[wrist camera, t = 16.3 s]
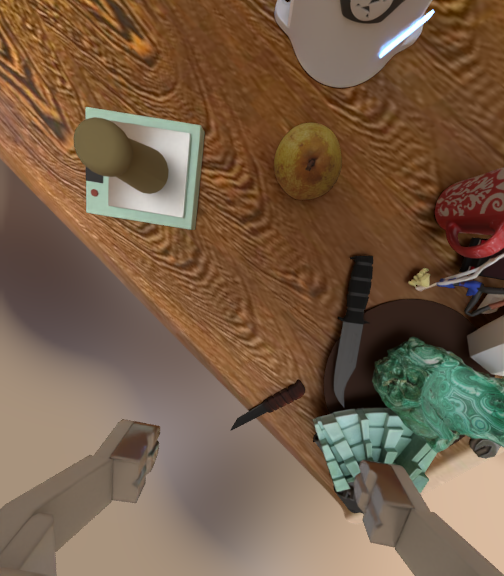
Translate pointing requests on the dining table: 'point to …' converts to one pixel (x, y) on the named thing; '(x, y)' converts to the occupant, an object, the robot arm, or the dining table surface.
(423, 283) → the figurine
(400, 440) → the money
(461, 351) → the plate
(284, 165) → the fruit
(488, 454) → the wrench
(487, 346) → the white geometric planter
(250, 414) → the knife
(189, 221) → the scale
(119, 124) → the scale pan
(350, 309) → the knife
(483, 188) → the mug
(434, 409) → the mineral
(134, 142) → the brown rounded elongated piece
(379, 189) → the dining table surface
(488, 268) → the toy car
